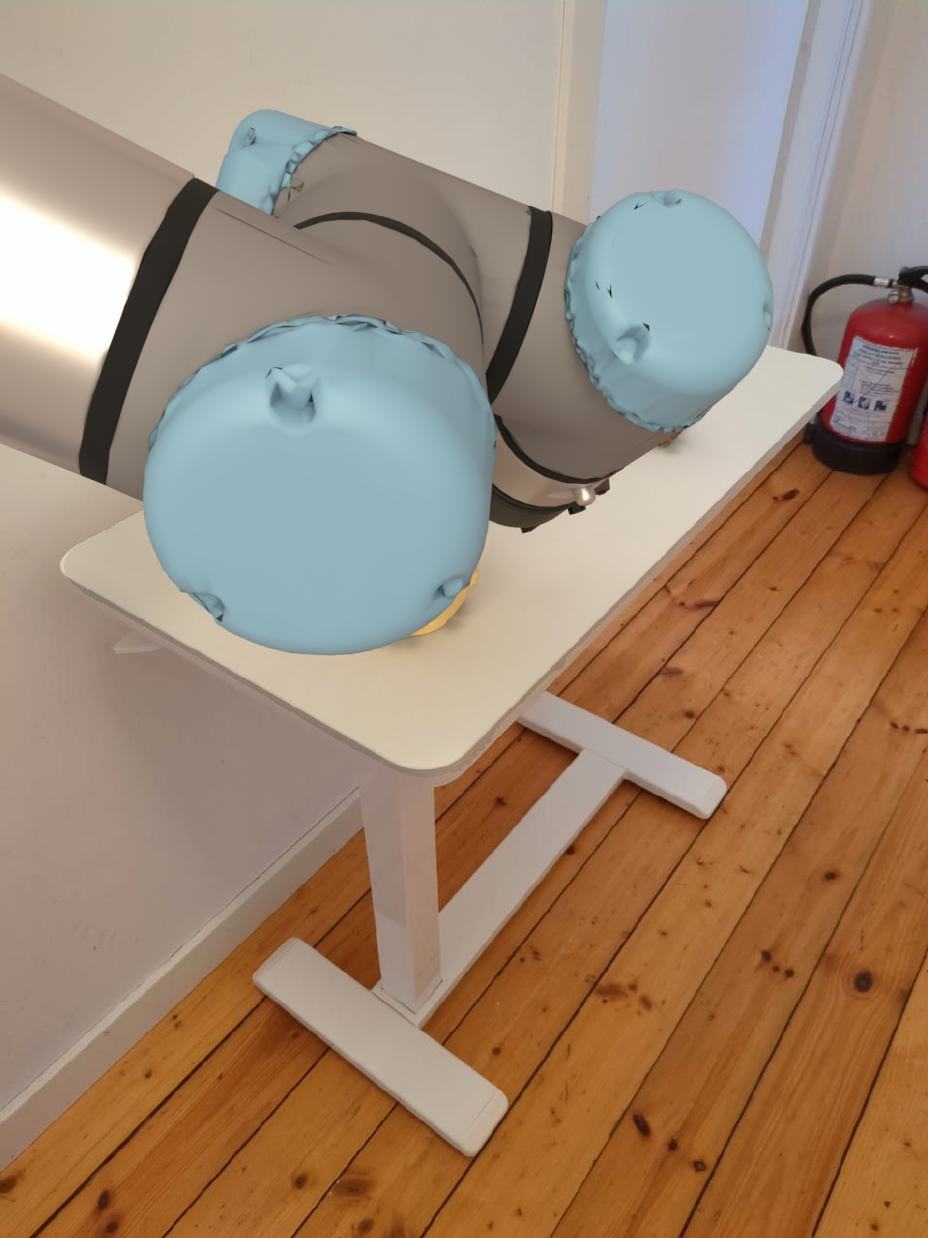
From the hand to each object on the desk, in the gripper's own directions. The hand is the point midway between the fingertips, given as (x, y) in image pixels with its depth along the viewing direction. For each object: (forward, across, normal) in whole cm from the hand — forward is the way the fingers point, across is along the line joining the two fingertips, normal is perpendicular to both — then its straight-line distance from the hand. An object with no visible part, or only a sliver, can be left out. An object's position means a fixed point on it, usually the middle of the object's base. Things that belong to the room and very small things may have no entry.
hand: (436, 537), depth 64 cm
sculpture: (+14, 0, -3) cm, 15 cm away
